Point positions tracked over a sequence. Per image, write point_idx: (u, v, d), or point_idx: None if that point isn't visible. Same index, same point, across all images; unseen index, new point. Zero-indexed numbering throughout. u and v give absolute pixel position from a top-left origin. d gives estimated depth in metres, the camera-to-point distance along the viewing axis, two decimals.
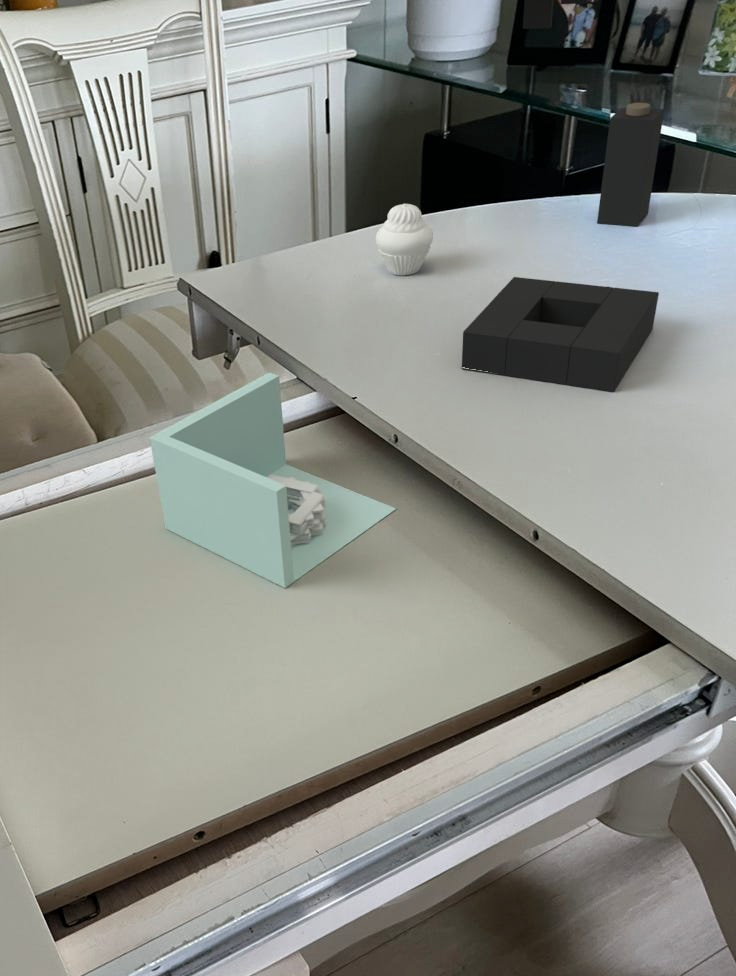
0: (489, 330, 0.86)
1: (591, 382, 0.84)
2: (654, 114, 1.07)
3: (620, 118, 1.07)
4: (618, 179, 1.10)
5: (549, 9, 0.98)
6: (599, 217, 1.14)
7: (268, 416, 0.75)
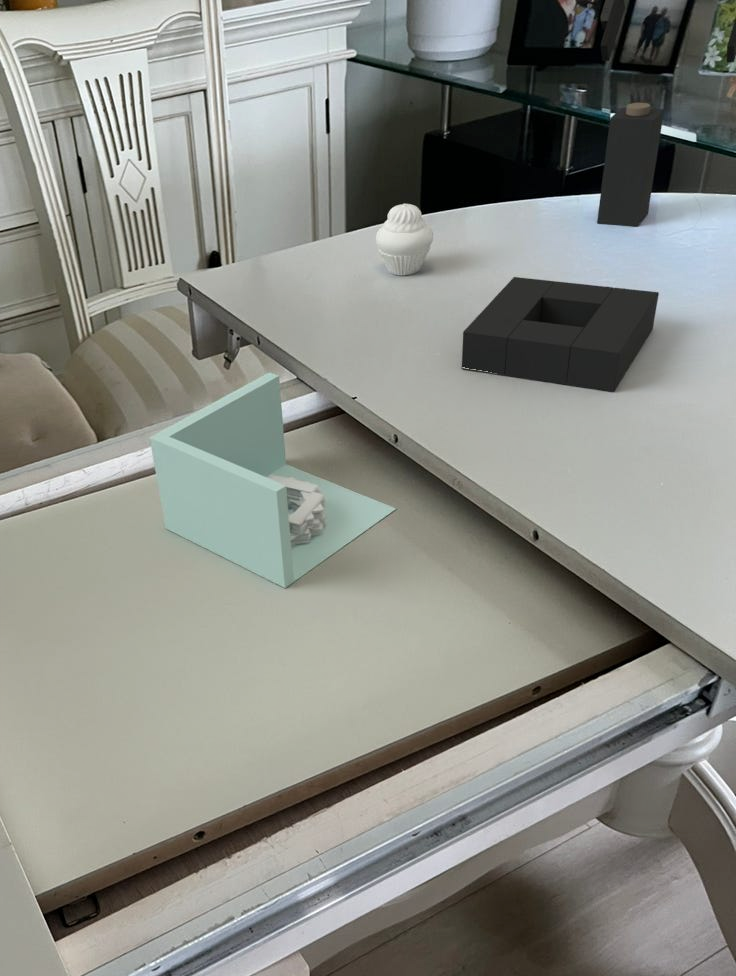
0: (489, 330, 0.86)
1: (591, 382, 0.84)
2: (654, 114, 1.07)
3: (620, 118, 1.07)
4: (618, 179, 1.10)
5: None
6: (599, 217, 1.14)
7: (268, 416, 0.75)
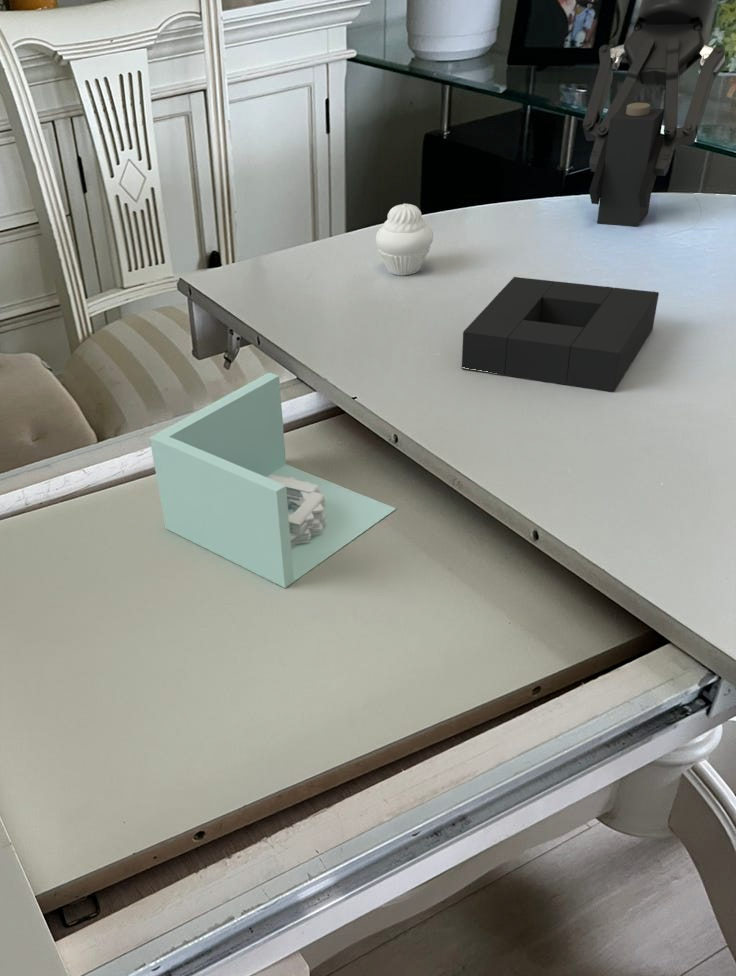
0: (489, 330, 0.86)
1: (591, 382, 0.84)
2: (654, 114, 1.07)
3: (620, 118, 1.07)
4: (618, 179, 1.10)
5: (650, 192, 1.10)
6: (599, 217, 1.14)
7: (268, 416, 0.75)
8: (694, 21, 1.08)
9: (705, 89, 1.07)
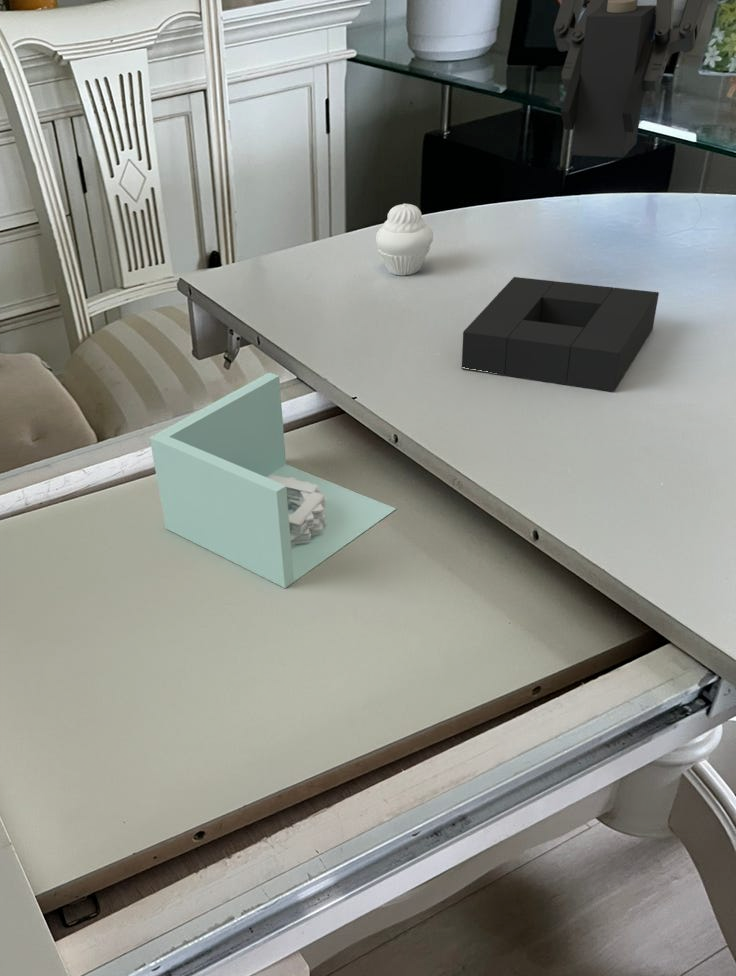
0: (489, 330, 0.86)
1: (591, 382, 0.84)
2: (642, 10, 0.84)
3: (599, 16, 0.84)
4: (597, 96, 0.88)
5: (637, 113, 0.87)
6: (574, 147, 0.91)
7: (268, 416, 0.75)
8: None
9: None
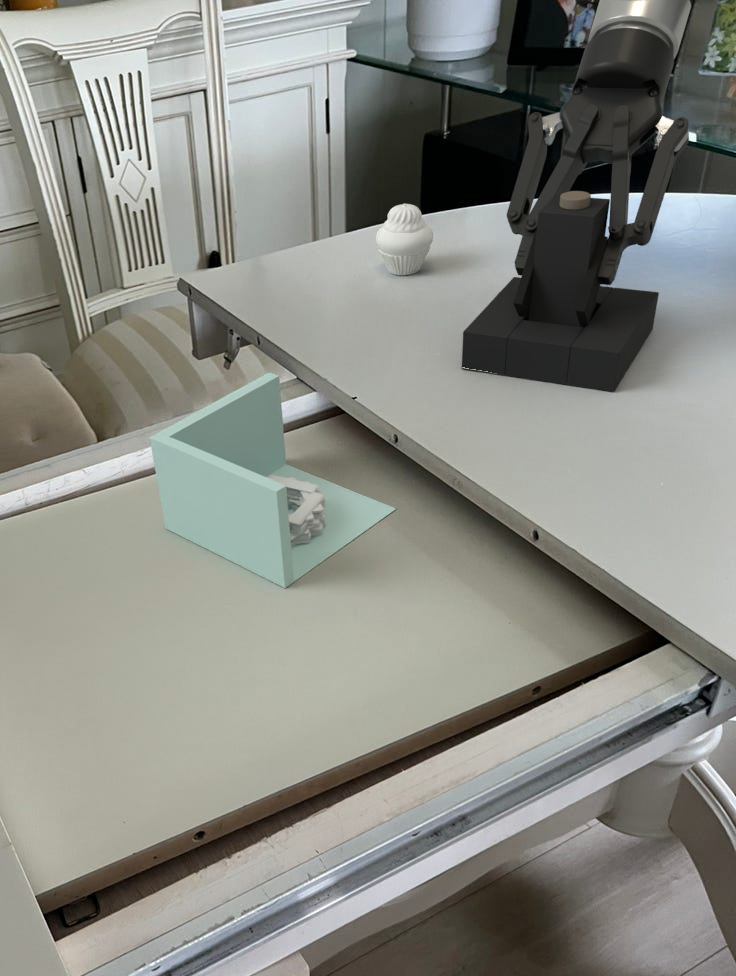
0: (489, 330, 0.86)
1: (591, 382, 0.84)
2: (596, 207, 0.81)
3: (551, 212, 0.82)
4: (551, 288, 0.85)
5: (592, 306, 0.85)
6: None
7: (268, 416, 0.75)
8: (649, 84, 0.83)
9: (662, 175, 0.81)
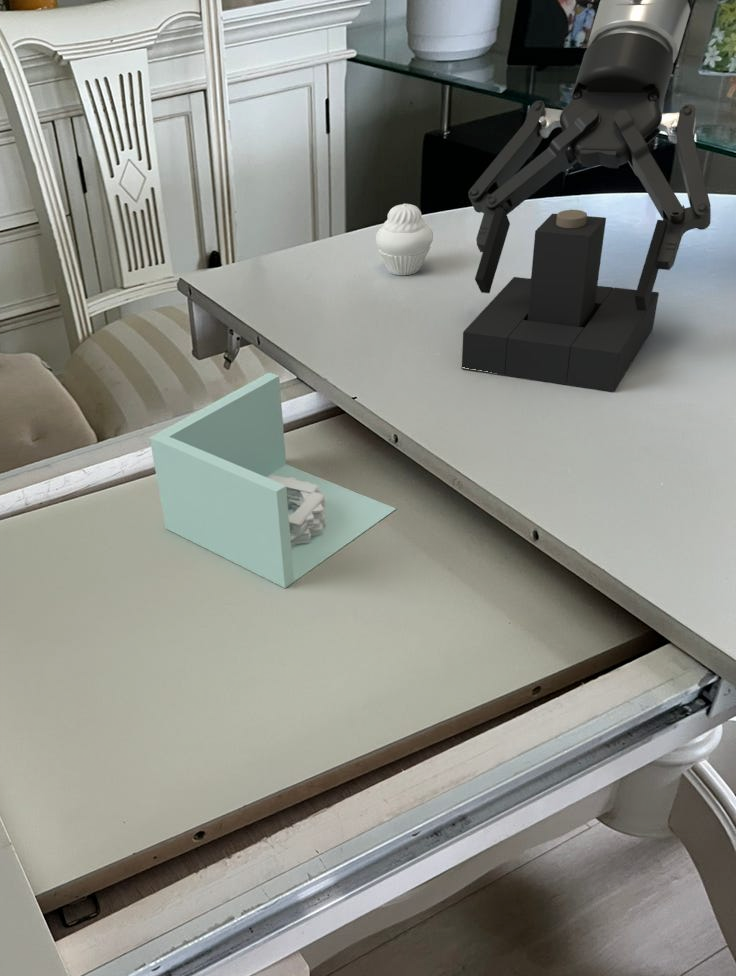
0: (489, 330, 0.86)
1: (591, 382, 0.84)
2: (592, 226, 0.82)
3: (548, 231, 0.83)
4: (548, 305, 0.86)
5: (650, 291, 0.83)
6: None
7: (268, 416, 0.75)
8: (649, 89, 0.83)
9: (697, 158, 0.81)
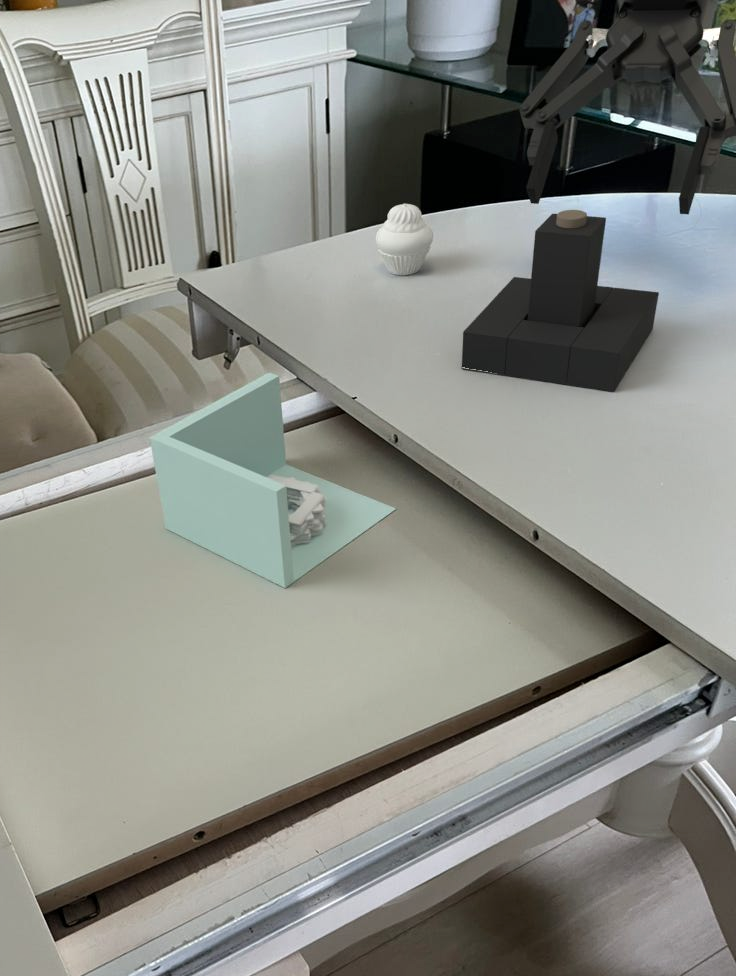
0: (489, 330, 0.86)
1: (591, 382, 0.84)
2: (592, 226, 0.82)
3: (548, 231, 0.83)
4: (548, 305, 0.86)
5: (692, 196, 0.89)
6: None
7: (268, 416, 0.75)
8: (691, 6, 0.89)
9: None
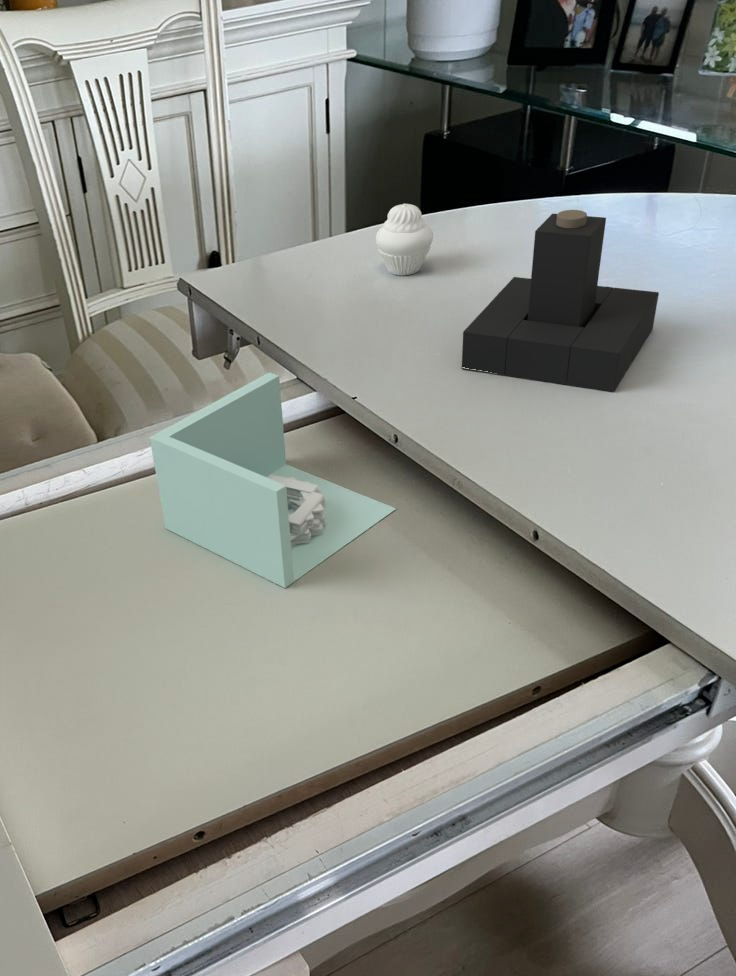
0: (489, 330, 0.86)
1: (591, 382, 0.84)
2: (592, 226, 0.82)
3: (548, 231, 0.83)
4: (548, 305, 0.86)
5: None
6: None
7: (268, 416, 0.75)
8: None
9: None
